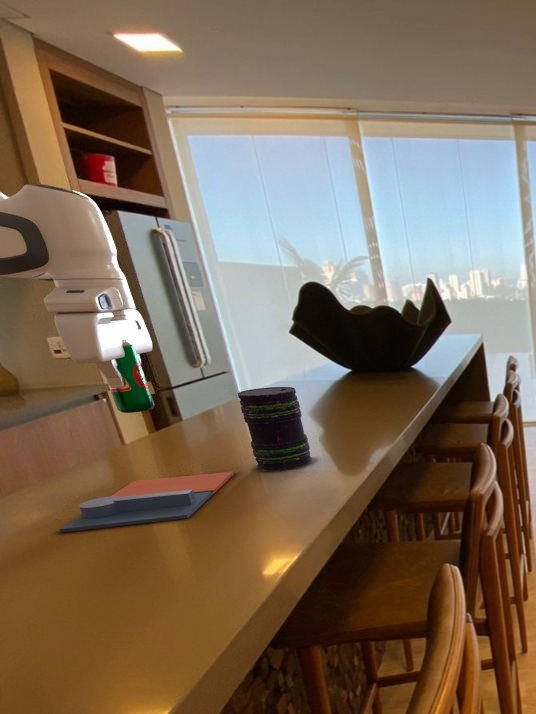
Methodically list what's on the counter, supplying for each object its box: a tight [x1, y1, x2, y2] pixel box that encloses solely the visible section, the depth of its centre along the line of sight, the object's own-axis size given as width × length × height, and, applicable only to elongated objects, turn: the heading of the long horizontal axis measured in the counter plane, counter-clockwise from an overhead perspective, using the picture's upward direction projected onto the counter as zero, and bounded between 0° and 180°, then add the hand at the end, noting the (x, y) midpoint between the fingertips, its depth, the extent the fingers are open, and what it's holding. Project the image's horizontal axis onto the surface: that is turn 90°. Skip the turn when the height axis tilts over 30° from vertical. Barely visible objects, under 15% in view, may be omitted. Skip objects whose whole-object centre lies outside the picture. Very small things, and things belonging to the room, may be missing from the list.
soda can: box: [105, 339, 155, 414], centre depth 97 cm, size 5×5×12 cm
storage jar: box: [237, 386, 313, 472], centre depth 113 cm, size 10×10×15 cm
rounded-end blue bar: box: [78, 490, 196, 518], centre depth 91 cm, size 15×5×2 cm, turn 109°
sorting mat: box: [59, 471, 235, 534], centre depth 97 cm, size 16×24×1 cm, turn 19°
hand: (127, 384), depth 97 cm, fingers closed on soda can, 5 cm apart
